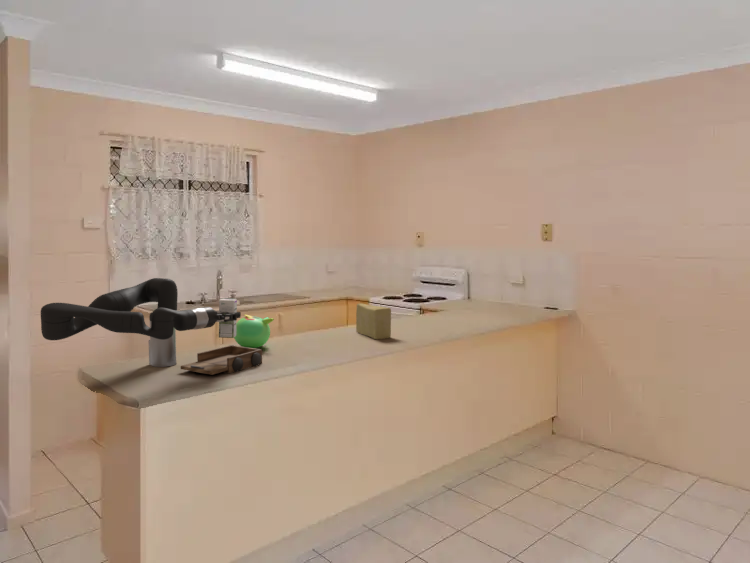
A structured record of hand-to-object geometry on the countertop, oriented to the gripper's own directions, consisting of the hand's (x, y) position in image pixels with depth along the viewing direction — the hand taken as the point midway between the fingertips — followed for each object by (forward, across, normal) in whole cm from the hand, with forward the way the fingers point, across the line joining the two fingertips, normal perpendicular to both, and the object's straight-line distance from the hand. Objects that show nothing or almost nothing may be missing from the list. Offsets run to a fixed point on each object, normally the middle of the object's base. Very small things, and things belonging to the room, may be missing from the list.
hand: (231, 313), depth 219 cm
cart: (0, 0, -20) cm, 20 cm away
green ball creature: (+30, -15, -19) cm, 39 cm away
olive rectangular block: (+82, +15, -18) cm, 85 cm away
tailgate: (-14, 0, -19) cm, 23 cm away
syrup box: (-2, 0, -9) cm, 9 cm away
